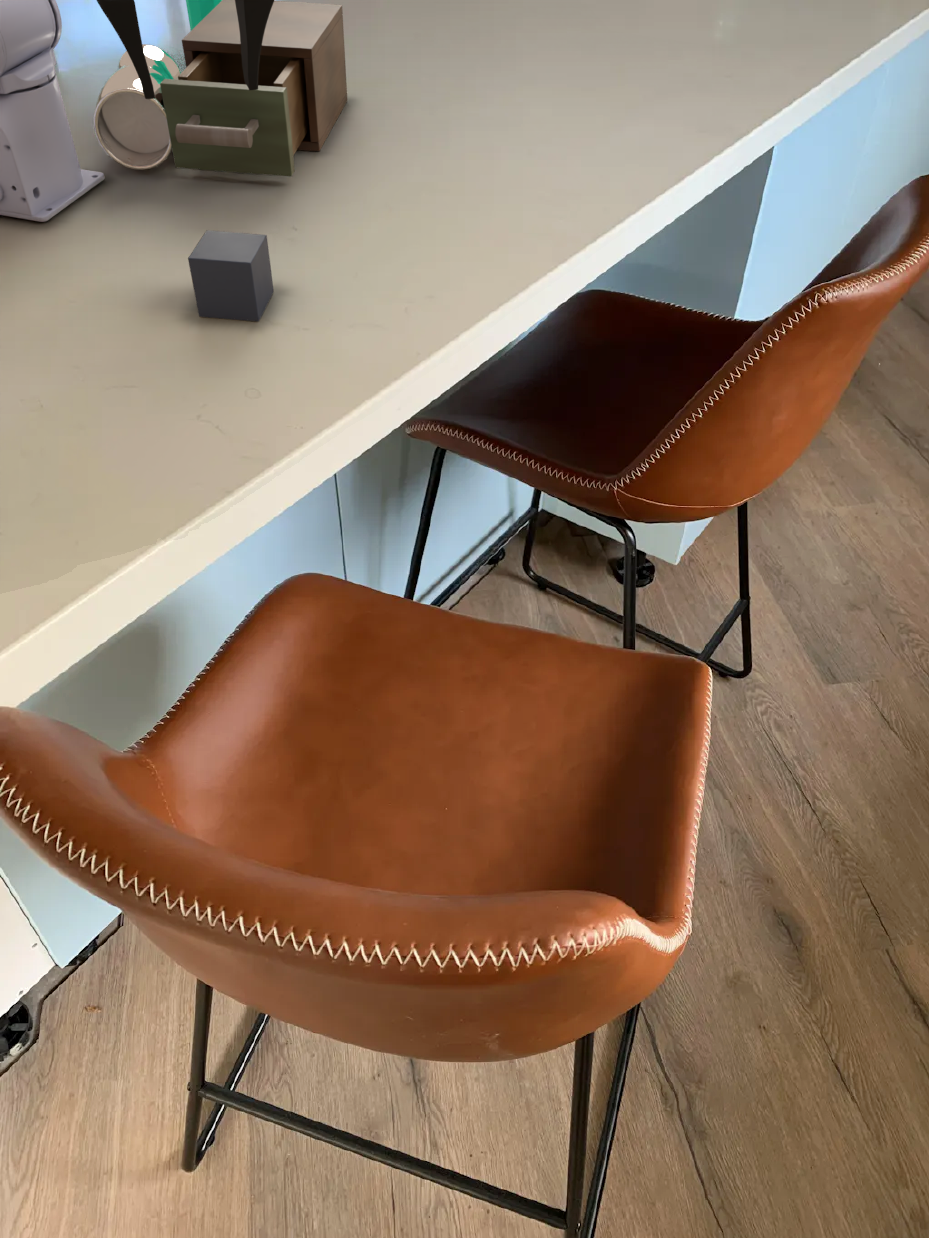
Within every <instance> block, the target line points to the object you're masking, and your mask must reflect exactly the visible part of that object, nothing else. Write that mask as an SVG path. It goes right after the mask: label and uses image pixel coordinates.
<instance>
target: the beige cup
mask: <svg viewBox="0 0 929 1238" xmlns="http://www.w3.org/2000/svg"><path fill="white" fill-rule="evenodd" d="M142 46H143V51H144V55H145V59H146V62H147V66H148V69H149V73H150V77H151V80H152V84H153V89H154V94H155V99H145V96H144V93H143V90H142V86H141V82H140V79H139V76H138V74H137V72H136V69H135V67H134V65H133V63H132V60H131V58H130V56H129V54H128V52H127V50H125V51H124V52H123V54H122V55H121V57H120V59H119V61H118V64H117V70H116V71H115V72H113V73H112V74H111V75H110V76H109V77H108V78H107V79H106V80H105V82H104V83H103V85H102V87H101V89H100V91H99V94H98V97H97V100H96V104H95V109H94V114H93V129H94V133H95V136H96V140H97V141H98V143H99V145H100V147H101V148H102V150H103V151H104V153H105V154H106V155H107V156H108V157H109V158H110V159H112V160H113V161H114V162H116V163H117V164H119V165H120V166H123V167H125V168H127V169H131V170H136V171H147V170H152V169H154V168H156V167H159V166H160V165H161V164H163V163H164V162H165V161H166V160H167V159H168V157H170V154H171V152H172V146H171V140H170V135H169V130H168V124H167V119H166V114H165V108H164V103H163V97H162V92H161V87H160V83H161V82H162V81H163V80H164V79H174V80H178V76H179V75H180V74H181V73H182V71H181V69H180V68H179V65H178V64H177V62H176V61H175V59H174V58H173V57H172V56H171V54H169V53H168V52H166V51H165V50H164V49H162V48H161V47H158V46H155V45H152V44H148V43H147V44H146V43H142Z"/></svg>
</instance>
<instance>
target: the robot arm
mask: <svg viewBox="0 0 929 1238" xmlns="http://www.w3.org/2000/svg"><path fill="white" fill-rule="evenodd" d="M274 1H275V0H235V4H236V10H237V16H238V23H239V30H240V42H241V56H242V68H243V74H244V80H245V83H246V85H247V87H248V89H249V90H257V89H258V71H259V61H260V53H261V47H262V41H263V36H264V32H265V28H266V24H267V21H268V17H269V14H270V11H271V8H272V6H273V3H274ZM96 2H97V4H98V6H99V7H100V9H101V11H102V12H103V14H104V15H105V17H106V18H107V19H108V22H109V23H110V25H111V26H112V28H113V29H114V31H115V33H116V34H117V36H118V38H119V39H120V42H121V43H122V45H123V46H124V48H125V51H127V52H128V54H129V56H130V58H131V60H132V63H133V65H134V67H135V69H136V72H137V74H138V76H139V79H140V82H141V86H142V90H143V93H144V96H145V99H155V94H154V89H153V84H152V80H151V77H150V73H149V69H148V66H147V62H146V59H145V55H144V51H143V46H142V44H143V42H142V35H141V29H140V23H139V18H138V13H137V7H136V2H135V0H96ZM62 25H63V22H62V15H61V11H60V8H59V4H58V2H57V0H0V216H4V217H10V218H15V219H16V218H17V219H22V220H28V221H35V222H40V223H45V222H47V221H49V220H50V219H52V218H53V217H55V216H56V215H58V214H59V213H60V212H61V211H63V210H64V209H66V208H67V207H68V206H70V205H71V204H73V203H74V202H75V201H77V200H79V198H81V197H82V196H84V195H85V194H87V192H89V191H91V190H92V189H93V188H95V187H96V186H97V185H98V184H100V183H101V182H103V181H104V180H105V179H106V177H105V173H104V172H101V171H97V170H96V171H95V170H89V169H84V168H83V169H82V168H81V165H80V162H79V158H78V153H77V150H76V146H75V142H74V138H73V135H72V131H71V127H70V123H69V119H68V114H67V111H66V107H65V103H64V100H63V96H62V92H61V88H60V83H59V80H58V76H57V73H56V68H55V67H56V66H57V64H58V62H57V58H56V55H55V51H54V49H55V48H56V47H57V46H58V44H59V42H60V40H61V36H62V31H63V30H62V29H63V26H62Z"/></svg>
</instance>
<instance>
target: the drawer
mask: <svg viewBox="0 0 929 1238" xmlns="http://www.w3.org/2000/svg"><path fill="white" fill-rule="evenodd" d="M160 87H161V92H162V97H163V103H164V108H165V114H166V119H167V124H168V130H169V135H170V140H171V146H172V150H171V152H172V156H173V161H174V166H175V168H177V169H188V170H200V171H215V172H227V173H239V174H241V173H242V174H252V175H253V174H255V175H266V176H279V177H281V176H282V177H293V176H294V174H295V171H296V169H295V159H294V155H295V154H296V152H297V151H298V150H297V149H298V147H299V145H300V144H301V142H302V140H303V139H304V137H305V135H306V134H307V132H308V130H309V129H310V128H309V116H308V105H307V93H306V81H305V69H304V58H293V57H278V56H264V55H260V61H259V71H258V89H257V90H249V89H248V87H247V85H246V83H245V80H244V74H243V68H242V56H241V54H235V53H220V52H205V51H202V52H201V53H200V54H199V55H198V56H197V57H196V58H195V59H194V60H193V61H192V62H191V63H190V64H189V65H188V66H187V68H186V67H185V69H183V71H181V74H180V75H179V76H178V80H174V79H164V80H163V81H162V82H161V83H160Z"/></svg>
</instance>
